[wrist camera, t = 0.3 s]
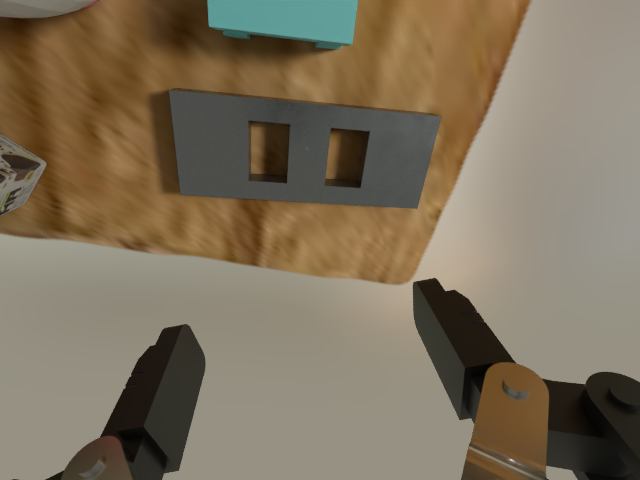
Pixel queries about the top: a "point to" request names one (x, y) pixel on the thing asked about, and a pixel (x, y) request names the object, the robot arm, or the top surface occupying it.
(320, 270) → the top surface
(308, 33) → the teal rectangular block
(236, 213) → the top surface
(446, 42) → the top surface
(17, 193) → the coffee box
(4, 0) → the citrus juicer
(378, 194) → the grey board with holes
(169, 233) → the top surface
